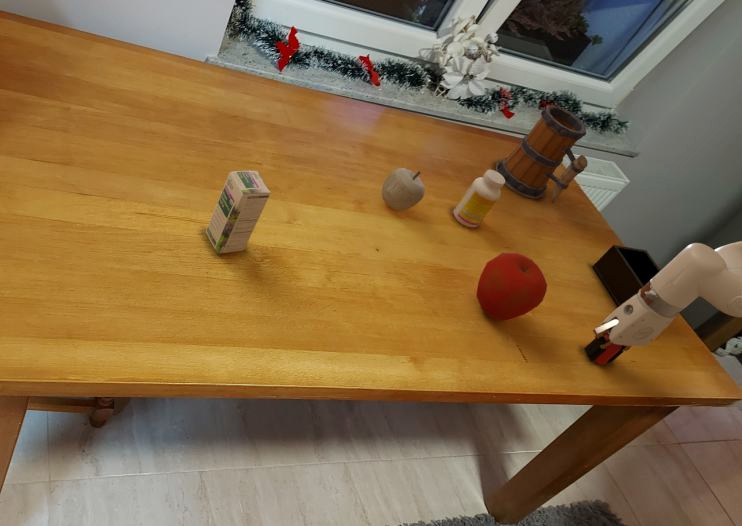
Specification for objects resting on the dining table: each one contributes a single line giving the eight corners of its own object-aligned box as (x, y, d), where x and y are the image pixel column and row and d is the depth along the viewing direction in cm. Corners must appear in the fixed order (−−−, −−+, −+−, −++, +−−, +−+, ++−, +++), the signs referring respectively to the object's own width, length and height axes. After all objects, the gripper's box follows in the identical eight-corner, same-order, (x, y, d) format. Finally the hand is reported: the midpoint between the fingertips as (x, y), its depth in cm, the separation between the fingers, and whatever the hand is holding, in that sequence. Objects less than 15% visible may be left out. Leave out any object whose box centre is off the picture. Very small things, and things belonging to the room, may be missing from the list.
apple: (451, 299, 135) (491, 251, 125) (479, 279, 143) (518, 232, 134) (500, 344, 131) (544, 297, 121) (525, 320, 139) (569, 274, 130)
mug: (565, 211, 177) (617, 151, 164) (529, 213, 169) (580, 151, 156) (520, 161, 187) (566, 102, 174) (484, 161, 180) (529, 99, 167)
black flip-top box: (591, 266, 163) (613, 244, 158) (623, 271, 167) (646, 250, 162) (620, 311, 154) (644, 289, 149) (653, 315, 158) (678, 294, 153)
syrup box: (203, 231, 122) (227, 170, 113) (232, 228, 126) (258, 169, 116) (216, 254, 119) (242, 194, 110) (245, 251, 123) (272, 192, 113)
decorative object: (368, 200, 148) (389, 165, 141) (386, 186, 154) (406, 152, 148) (401, 225, 146) (424, 190, 139) (417, 209, 152) (439, 176, 146)
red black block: (606, 356, 140) (623, 342, 137) (603, 367, 137) (620, 353, 134) (590, 344, 141) (606, 330, 138) (586, 355, 138) (602, 340, 135)
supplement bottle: (481, 231, 156) (513, 189, 147) (456, 225, 154) (488, 183, 145) (473, 211, 160) (503, 170, 152) (449, 205, 158) (478, 163, 150)
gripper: (639, 311, 121) (574, 369, 133) (703, 318, 128) (636, 373, 140) (618, 279, 126) (557, 338, 138) (681, 288, 133) (618, 343, 145)
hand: (597, 355), depth 139 cm, fingers closed on red black block, 4 cm apart
